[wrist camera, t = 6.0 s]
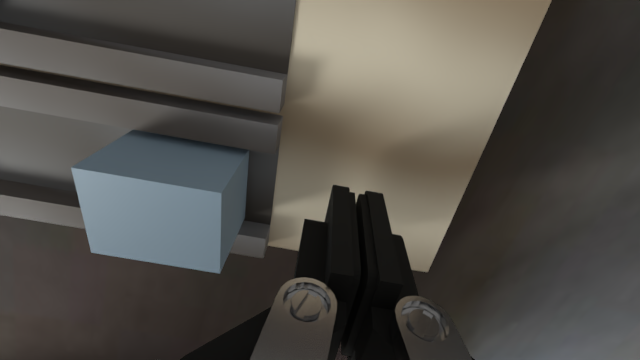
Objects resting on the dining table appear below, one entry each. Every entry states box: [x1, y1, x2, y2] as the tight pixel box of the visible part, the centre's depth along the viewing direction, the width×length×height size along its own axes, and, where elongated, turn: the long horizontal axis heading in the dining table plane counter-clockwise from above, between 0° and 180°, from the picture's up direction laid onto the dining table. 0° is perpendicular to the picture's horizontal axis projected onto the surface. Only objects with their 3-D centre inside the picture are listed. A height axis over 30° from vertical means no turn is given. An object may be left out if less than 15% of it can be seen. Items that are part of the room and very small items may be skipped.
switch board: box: [0, 0, 552, 272], centre depth 11 cm, size 12×28×3 cm, turn 80°
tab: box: [71, 130, 249, 274], centre depth 11 cm, size 3×4×3 cm
